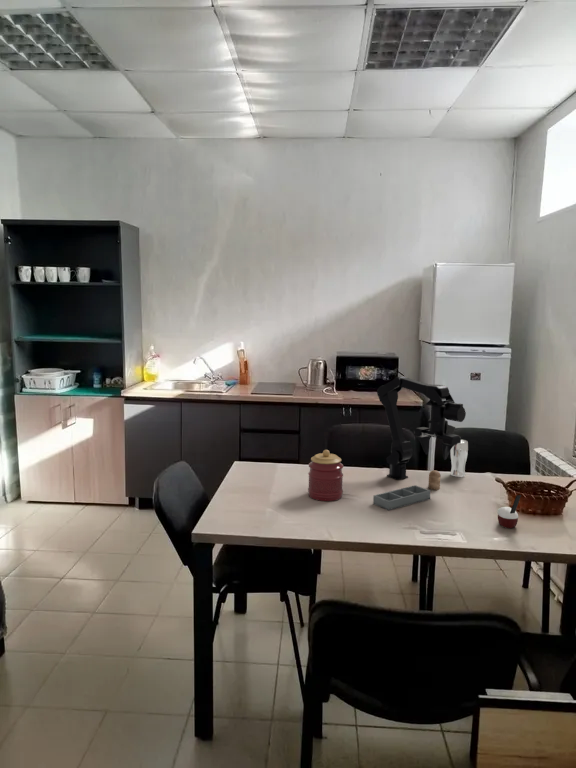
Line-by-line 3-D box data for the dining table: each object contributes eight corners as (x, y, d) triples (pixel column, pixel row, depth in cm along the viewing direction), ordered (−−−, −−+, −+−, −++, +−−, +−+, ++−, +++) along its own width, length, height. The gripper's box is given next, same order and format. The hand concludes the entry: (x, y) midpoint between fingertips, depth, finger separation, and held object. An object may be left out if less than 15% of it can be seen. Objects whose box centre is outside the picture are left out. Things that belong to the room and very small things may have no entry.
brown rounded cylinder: (425, 487, 215) (426, 469, 214) (433, 485, 218) (434, 468, 217) (434, 490, 212) (435, 472, 211) (442, 488, 214) (443, 470, 213)
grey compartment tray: (373, 503, 196) (373, 495, 196) (414, 493, 208) (415, 485, 208) (388, 510, 190) (388, 501, 189) (430, 499, 202) (430, 490, 202)
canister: (302, 497, 201) (302, 451, 199) (316, 488, 213) (317, 444, 210) (334, 504, 195) (335, 456, 193) (347, 493, 207) (349, 448, 204)
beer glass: (445, 473, 234) (447, 439, 232) (458, 472, 236) (460, 438, 234) (457, 478, 227) (459, 443, 225) (469, 476, 230) (471, 442, 228)
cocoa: (495, 521, 182) (495, 486, 181) (515, 522, 181) (515, 487, 180) (500, 531, 173) (501, 494, 172) (521, 532, 172) (522, 495, 171)
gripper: (471, 419, 208) (468, 459, 210) (432, 411, 223) (430, 448, 225) (452, 422, 201) (449, 463, 204) (414, 414, 217) (412, 452, 219)
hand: (435, 456), depth 213 cm, fingers open, 9 cm apart
